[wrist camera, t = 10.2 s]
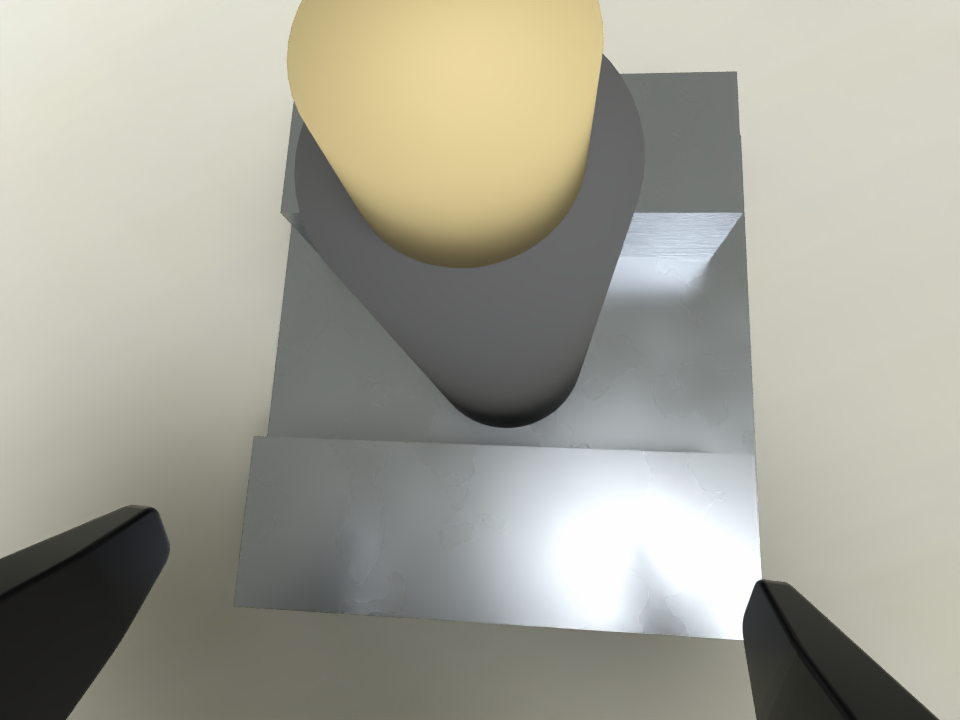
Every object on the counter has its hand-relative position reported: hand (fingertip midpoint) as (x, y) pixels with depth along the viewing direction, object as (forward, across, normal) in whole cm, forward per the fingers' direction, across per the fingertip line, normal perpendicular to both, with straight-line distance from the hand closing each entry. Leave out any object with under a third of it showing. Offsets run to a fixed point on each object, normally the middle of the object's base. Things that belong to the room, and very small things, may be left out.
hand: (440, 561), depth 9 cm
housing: (+10, 0, -2) cm, 10 cm away
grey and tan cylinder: (+10, 0, -2) cm, 10 cm away
